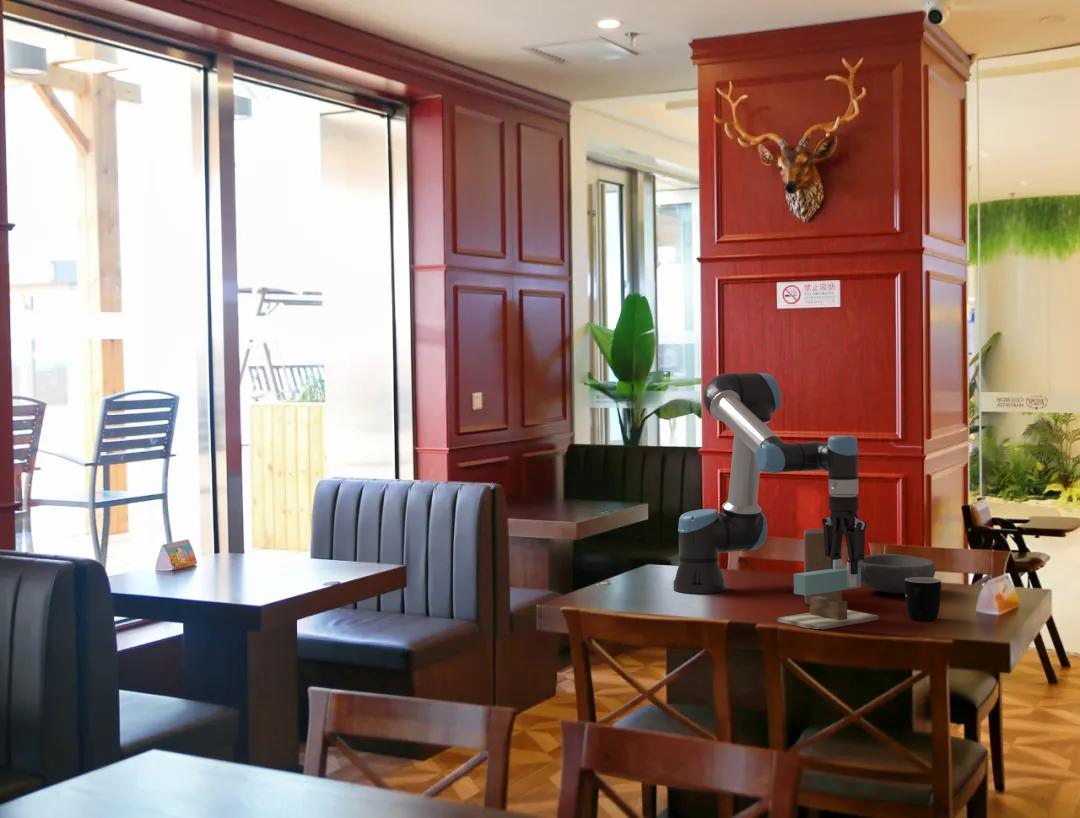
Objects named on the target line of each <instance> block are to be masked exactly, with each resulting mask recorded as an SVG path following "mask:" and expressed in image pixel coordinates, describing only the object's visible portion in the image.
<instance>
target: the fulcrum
mask: <svg viewBox="0 0 1080 818" xmlns="http://www.w3.org/2000/svg"><path fill="white" fill-rule="evenodd" d="M878 620H880V616H879V615H877V614H872V613H866V612H862V611H855V610H852V609H851V610H850V609H848V600H843V599H842V600H837V599H832V598H826V597H821V596H815V597H810V605H809V612H805V613H800V614H799V613H798V614H793V615H787V616H786V615H785V616H780V617H777V622H779V623H782V624H787V625H791V626H797V627H802V628H807V629H810V628H813V629H812V630H814V629H821V630H827V629H828V630H829V629H832V628H838V627H839V628H840V627H845V626H846V627H847V626H850V625H856V624H862V623H868V622H872V621H878Z"/></svg>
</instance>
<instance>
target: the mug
mask: <svg viewBox="0 0 1080 818" xmlns="http://www.w3.org/2000/svg"><path fill="white" fill-rule="evenodd" d="M904 595H905V605H906V610H907V614H908V616H909V618H910V620H912V621H917V622H933V621H936V620H937V618H938V617H939V613H940V608H941V607H940V606H941V598H942V597H941V595H942V580H941V579H939V578H935V577H933V578H928V577H911V578H906V579H905V594H904Z"/></svg>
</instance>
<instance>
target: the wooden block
mask: <svg viewBox="0 0 1080 818" xmlns="http://www.w3.org/2000/svg"><path fill="white" fill-rule="evenodd" d="M842 545H843V544H842ZM842 545H841V552H840V556H841V557H842V558H843V553H842V552H843V551H842V549H843V547H842ZM803 554H804V555H803V560H804V561H803V562H804V563H803V569H804V570H803V573H804V572H812V571H819V570H826V569H831V559H830V557H828V556H825V548H824V528H806V529H804V531H803ZM842 558H839V559H842ZM842 560H843V559H842ZM815 596H821V597H826V598H832V599H837V600H842V601H843V590H840V591H833V592H827V593H820V594H813V595H807V596H804V603H805V604H806V605H808V606H810V597H815Z"/></svg>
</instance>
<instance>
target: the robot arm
mask: <svg viewBox="0 0 1080 818" xmlns="http://www.w3.org/2000/svg"><path fill="white" fill-rule="evenodd" d="M702 399H703V404H704V407H705V409H706V411H707V413H709V415H710V416H711V417H712V418H713V419H715V421H718V422H719V421H721V422H722V423H724V425H725V426H726V427H728V428H729V429H730V430H731V432H733V433H734V435H733V443H732V444H733V445H732V453H731V466H730V476H729V487H728V497H727V500H726V501H725V502H724V503H723V504H722V506H721V513H719V511H718V510H717V509H714V508H704V509H696V510H689V511H687V512H685V513H683V514H681V515H680V517H679V518H678V528H677V532H678V567H677V569H676V574H675V577H674V578H675V579H674V581H673V591H675V592H678V593H682V594H683V593H684V594H696V595H697V594H699V595H700V594H701V595H702V594H703V595H704V594H714V593H715V594H717V593H722V592H724V591H726V582H725V581H726V580H724V577H723V573H722V570H721V567H720V562H719V560H720V559H719V558H720V557H719V554H720V553H723V554H724V553H735V552H742V553H743V552H749V551H755V550H758V549H759V548H761V547H762V546H763V544H765V542H766V539H767V536H768V532H769V531H768V530H769V526H768V523H767V522H768V520H767V517H766V515H765V514H764V513H763V512H762V507H761V506H760V505H759V504H758V496H759V488H760V487H759V486H760V485H759V484H760V475H761V472H762V473H767V474H768V473H771V474H778V473H791V472H813V471H815V472H817V471H822V472H827V473H828V474H827V475H828V494H829V497H828V510H829V511H830V515H829V517H826V518H822V519H821V524H822V526H823V529H824V548H825V556H828V557H830V559H831V569H834V568H841V567H843V559H839V558H843V556H842V557H841V556H840V552H841V545H843V544H842V543H843V538H844V537H845V543H846V549H847V555H848V559H847V560H846V567H847V587H856V574H858V561H859V560H863V559H864V556H866V555H865V553H866V551H865V550H866V549H865V546H866V545H865V543H866V541H865V540H866V528H867V525H868V523H867V521H862V520H861V519H859V516H858V511H859V509H860V508H859V501H860V500H859V499H860V498H859V497H858V496H857V495H858V494H859V447H858V438H857V437H856V436H855V435H830V436H829V437H828V439H827V442H822V441H818V440H817V441H808V442H794V443H793V442H791V443H790V442H789V443H787V442H784V441H783V440H782V439H781V438H780V437H779V436H778V435H777V433H775V432H774V431H773V430H772V429H771V428H769V427H768V426H767V424H768V423H770V422H771V419H772V414H774V413H776V412H777V411H778V410H779V409H780V408H781V403H782V393H781V389H780V386H779V384H778V381H777V380H776V379H775V377H774V376H772V375H771V374H770V373H762V372H744V373H743V372H740V373H721V374H718V375H717V376H714V377H713V378H712V379H711V380H709V382H708V383H707V384H706V386H705V388H704V391H703V396H702Z"/></svg>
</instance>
